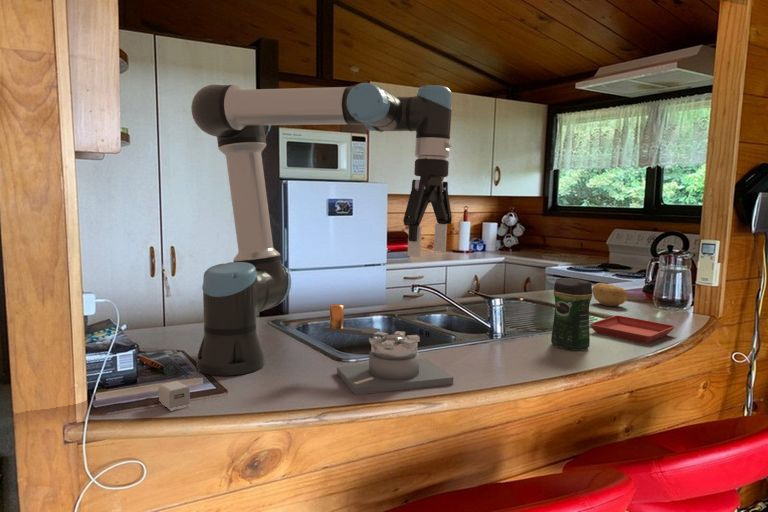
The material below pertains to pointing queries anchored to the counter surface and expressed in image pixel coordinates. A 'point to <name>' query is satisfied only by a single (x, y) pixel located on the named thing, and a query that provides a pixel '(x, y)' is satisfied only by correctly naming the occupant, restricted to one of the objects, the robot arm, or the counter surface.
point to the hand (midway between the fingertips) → (427, 254)
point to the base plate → (389, 385)
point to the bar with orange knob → (376, 337)
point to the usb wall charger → (174, 394)
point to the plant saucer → (631, 328)
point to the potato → (609, 294)
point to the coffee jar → (571, 314)
